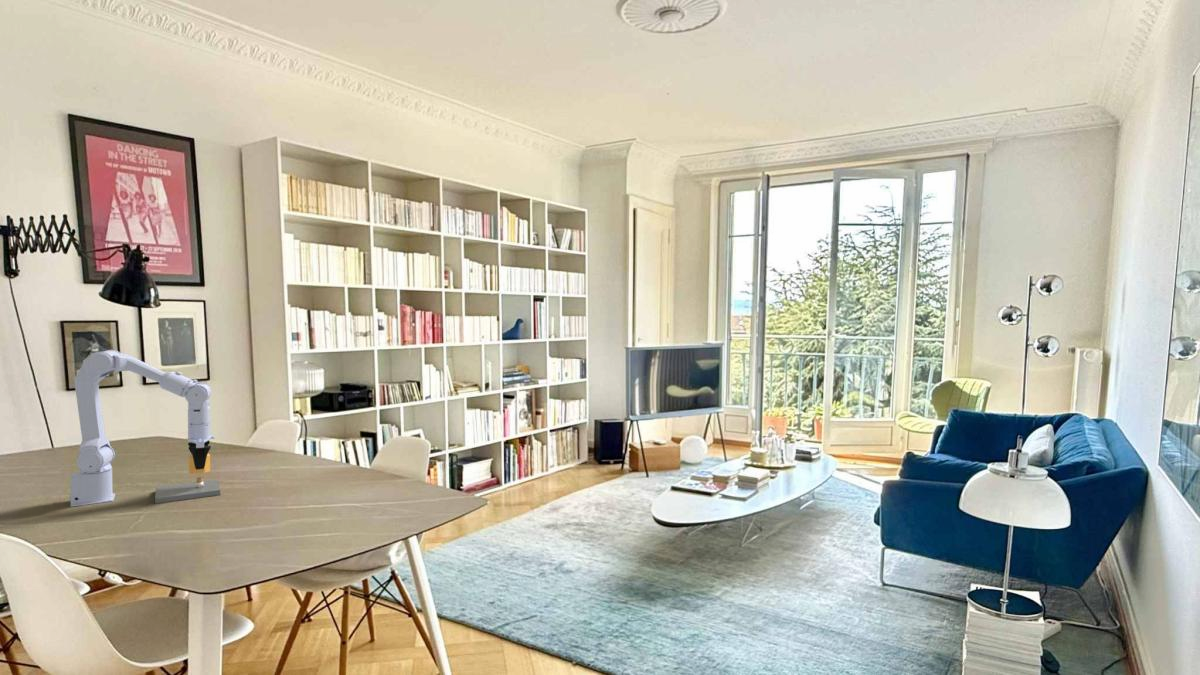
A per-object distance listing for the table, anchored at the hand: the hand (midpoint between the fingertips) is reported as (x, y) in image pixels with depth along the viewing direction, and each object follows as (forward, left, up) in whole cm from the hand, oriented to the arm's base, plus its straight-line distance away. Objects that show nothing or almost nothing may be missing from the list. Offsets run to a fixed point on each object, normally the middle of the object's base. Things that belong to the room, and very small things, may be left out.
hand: (199, 466), depth 187 cm
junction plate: (-3, 0, -8) cm, 8 cm away
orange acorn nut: (0, 0, -1) cm, 1 cm away
